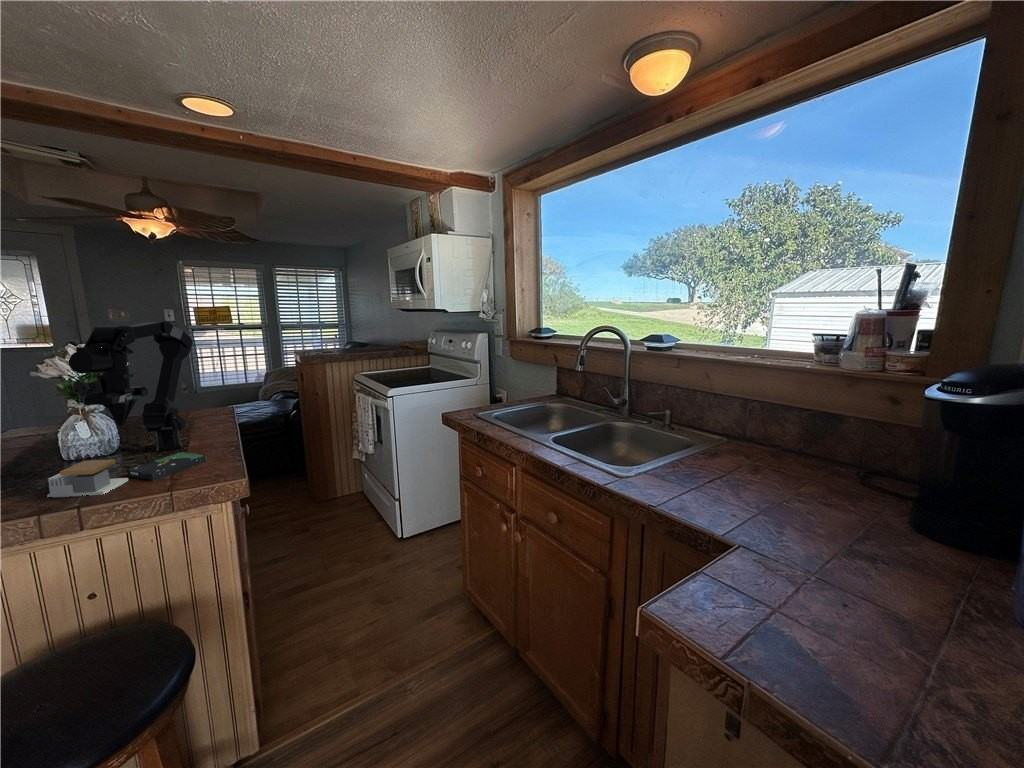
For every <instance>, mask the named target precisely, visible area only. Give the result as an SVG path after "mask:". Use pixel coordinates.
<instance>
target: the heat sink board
mask: <svg viewBox="0 0 1024 768" xmlns="http://www.w3.org/2000/svg"><path fill="white" fill-rule="evenodd" d="M128 481H129V477H120V478H119V477H118V478H110V475H109V470H108V469H106V468H105V469H102V471H101V472H99V473H97V474H95V475H93V476H80V477H78V475H61V474H60V473H57V474H55V475H52V476H51V477H48V478H47V482H48V488H49V493H48V494H47V495H46V496H47V498H48V497H53V498H66V497H69V498H70V496H71V497H85V496H86V495H89V496H102V495H103V494H104V495H105V493H106V494H107V493H109V492H110V490H111V491H113V490H115V489H117V488H118V487H120V486H122V485H123V484H125V483H127V482H128ZM112 489H113V490H112ZM82 495H83V496H82ZM104 495H103V496H104Z"/></svg>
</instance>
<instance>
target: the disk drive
mask: <svg viewBox="0 0 1024 768" xmlns="http://www.w3.org/2000/svg"><path fill="white" fill-rule="evenodd" d="M206 461H207V456H206V454H200V453H196V452H195V453H194V452H193V453H191V452H190V453H189V452H185V451H181V452H176V453H173V454H170V455H168V456H164V457H161V458H158V459H154V460H152V461H148V462H145V463H143V464H139V465H136V466H132V467H130V468H128V469H126V472H127V476H128V477H127V478H133V477H136V478H135V479H139V478H141V479H140V480H144V479H148V480H147V481H150V480H153V481H152V482H155V481H154V480H156V481H158V480H157V479H159V480H161V479H160V478H162V477H164V478H166V477H165V476H167V475H169V476H172V475H174V474H173V473H175V474H177V472H178V473H180V472H182V470H183V471H186V470H188V468H189V469H190V467H191V468H193V467H192V466H194V467H196V466H195V465H197V466H199V465H198V464H200V465H202V464H204V463H203V462H205V463H207V462H206ZM201 463H202V464H201ZM185 469H186V470H185ZM179 471H180V472H179ZM171 474H172V475H171ZM167 477H168V476H167ZM162 479H163V478H162Z"/></svg>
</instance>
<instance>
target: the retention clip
mask: <svg viewBox="0 0 1024 768" xmlns="http://www.w3.org/2000/svg"><path fill="white" fill-rule="evenodd" d="M116 462H117V461H116V458H114V459H112V458H111V459H96V460H83V461H80V462H78V463H76V464H74V465H72V466H69V467H67V468H65V469H62V470H60V471H59V474H61V475H78V477H80V476H93V475H95V474H97V473H99V472H101V471H102V470H104V469H106V468H108V467H110V466H112V465H115V464H117V463H116Z"/></svg>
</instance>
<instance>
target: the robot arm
mask: <svg viewBox="0 0 1024 768" xmlns="http://www.w3.org/2000/svg"><path fill="white" fill-rule="evenodd" d="M90 333H91V334H90V335H89V337H88V339H87V340H86V342H85V344H84V346H77V347H75V350H76V351H75V352H73V353H72V354H71V355H70V357H69V359H68V365H69V367H70V369H71V370H72V371H73V372H75V373H77V374H91V373H100V374H97V376H96V380H94V381H91V382H90V381H89V382H86V381H85V380H80V381H76V382H73V384H72V385H73V386H72V389H73V390H72V393H73V394H77V395H78V396H79V399H80V398H81V399H82V405H83V406H97V405H98V406H102V407H105V408H107V409H108V411H109V412H110V414H111V416H112V418H113V419H114V421H115V423H116V425H117V426H124V425H125V423H126V421H127V419H128V417H129V415H130V413H131V411H132V409H133V408H134V407H135V404H136V402H138V401H139V400H138V398H133V397H135V396H136V397H137V396H141V397H146V396H149V389H148V388H147V387H145V386H142V385H141V386H131V385H132V383H131V378H133V377H134V373H130V363H129V355H131V354H134V353H135V352H134V351H133V349H131V348H129V347H128V346H130V345H132V344H133V343H135V342H136V340H139V339H143V338H147V337H153V342H154V341H155V343H156V344H158V351H159V352H160V354H161V356H162V362H161V366H160V371H159V374H158V380H157V385H156V388H155V389H156V390H155V394H154V398H153V400H152V401H151V402H148V403H147V402H146V403H145V404H144V405H143V411H142V414H141V416H142V417H141V421H142V423H143V426H144V427H145V429H146V431H147V432H148V433H151V432H152V433H153V432H155V437H156V442H157V445H156V453H159V452H165V451H170V450H171V449H172V450H177V449H183V442H182V441H181V438H180V432H179V431H181V430H184V429H185V428H186V420H185V419H184V418H182V417H181V416H180V415H179V409H178V406H177V405H176V403H175V398H176V392H177V387H178V383H179V378H180V374H181V373H180V372H181V368H182V364H183V363H182V362H183V360H184V359H186V357H188V356H189V355H190V352H191V351H192V347H193V345H194V342H193V340H192V339H193V338H191V336H189V335H188V334H187V332H186V331H184V330H182V329H180V328H178V327H176V326H174V325H172V324H171V322H170V321H166V320H152V321H148V322H142V323H136V324H130V325H97V326H94V327H93V331H92V332H90ZM101 347H102V348H101ZM127 362H128V366H126V365H127Z"/></svg>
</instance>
